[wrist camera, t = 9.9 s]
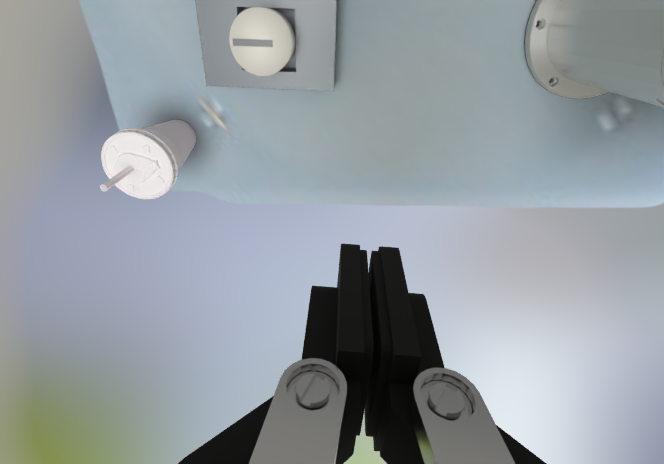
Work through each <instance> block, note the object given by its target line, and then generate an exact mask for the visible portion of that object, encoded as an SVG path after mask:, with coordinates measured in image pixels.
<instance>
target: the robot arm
mask: <svg viewBox="0 0 664 464" xmlns="http://www.w3.org/2000/svg"><path fill="white" fill-rule="evenodd" d="M537 21H539V25H538V26H537V27H536V23H537ZM525 54H526V59H527V63H528V67H529V69H530V71H531V73H532V75H533V77H534V78H535V79H536V80H537V82H538V83H539V84H540V85H541V86H542V87H544V88H545V89H547V90H548V91H550V92H552V93H554V94H556V95H559V96H563V97H567V98H573V99H585V98H591V97H596V96H599V95H603V94H606V93H609V92H612V93H616V94H619V95H622V96H626V97H629V98H633V99H636V100H639V101H643V102H646V103H650V104H653V105H657V106H660V107H663V108H664V0H537V2H536V4H535V6H534V8H533V10H532V12H531V15H530V19H529V22H528V25H527V30H526V37H525ZM551 78H552V80H551V82H550V83H549V81H550V79H551ZM364 408H365V432H366V436H371V437H372V436H373V440H374V451H380V456H381V457H382V458H383V460H384V461H386V463H387V464H546V463H545V462H543V461H542V460H541V459H540V458H538V457H537V456H536V455H534V454H533V453H532V452H530V451H529V450H528V449H527V448H525V447H524V446H523V445H521V444H520V443H519V442H517V441H516V440H515V439H513V438H512V437H511V436H510V435H508V434H507V433H505V432H504V431H503V430H502V429H501V428H499V427H498V426H497V425H496V424H495V422H494V421H493V419H492V417H491V415H490V413H489V411H488V409H487V407H486V405H485V403H484V401H483V399H482V397H481V395H480V393H479V392H478V390H477V389H476V387H475V386H474V385H473V384H472V383H471V382H470V381H469V380H468V379H467V378H466V377H464V376H462V375H461V374H459V373H457V372H455V371H452V370H449V369H446V368H444V365H443V361H442V357H441V353H440V350H439V346H438V343H437V338H436V335H435V331H434V327H433V323H432V320H431V316H430V312H429V309H428V305H427V301H426V298H425V296H424V295H423V294H415V293H408V289H407V284H406V280H405V275H404V270H403V266H402V261H401V256H400V251H399V248H392V247H379V250H378V251H372V254H371V259H370V267H369V273H368V262H367V251H366V250H360V245H352V244H341V251H340V262H339V273H338V284H337V288H334V287H322V286H312V289H311V296H310V303H309V311H308V318H307V325H306V333H305V340H304V347H303V354H302V360H300V361H298V362H295V363H293V364H292V365H291V366H290V367H288V368H287V369H286V370H285V371H284V373H283V375H282V377H281V378H280V381H279V384H278V386H277V389H276V392H275V394H274V396H273V397H272V398H270V399H269V400H267V401H266V402H264V403H263V404H261V405H260V406H259V407H257V408H256V409H254V410H253V411H251V412H250V413H249V414H247V415H246V416H244V417H243V418H241V419H240V420H238V421H237V422H236V423H234V424H233V425H231V426H230V427H229V428H227V429H225V430H224V431H223V432H221V433H220V434H218V435H217V436H215V437H214V438H212V439H211V440H210V441H208V442H207V443H205V444H204V445H203V446H201V447H199V448H198V449H197V450H195V451H194V452H192V453H191V454H189V455H188V456H187V457H185V458H184V459H183V460H182V461H180V462H179V463H178V464H343V463H344V462H345V461H346V460H348V459H349V457H351V456H352V454H353V451H354V445H355V439H356V435H360V431H361V425H362V420H363V414H364Z"/></svg>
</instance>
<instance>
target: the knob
mask: <svg viewBox="0 0 664 464" xmlns="http://www.w3.org/2000/svg"><path fill="white" fill-rule="evenodd" d="M229 41H230V47H231V51H232V53H233V56H234V58H235V59H236V61H237V62H238V64H239V65H240V66H241V67H242V68H243V69H245V70H246V71H247V72H249V73H251V74H254V75H257V76H269V75H272V74H275V73H277V72H278V71H280V70H281V69H282V68H283V67H284V66H285V65H287V64H288V62H289V61H290V60H291V58H292V56H293V53H294V50H295V35H294V31H293V28H292V26H291V24H290V23H289V21H288V20H287V19H286V17H285V16H284V15H282V14H281V13H280V12H278V11H276V10H274V9H271V8H263V7H252V8H249V9H246V10H244V11H242V12H241V13H240V14H239V15H238V16H237V17H236V18H235V20H234V22H233V24H232V26H231V29H230V36H229Z"/></svg>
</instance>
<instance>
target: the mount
mask: <svg viewBox="0 0 664 464" xmlns="http://www.w3.org/2000/svg"><path fill="white" fill-rule="evenodd" d="M195 3H196V10H197V18H198V25H199V33H200V41H201V48H202V56H203V63H204V71H205V78H206V86H221V87H247V88H273V89H299V90H326V91H334V85H335V57H336V26H337V0H195ZM252 7H263V8H271V9H274V10H276V11H278V12H280V13H281V14H282V15H284V16H285V17H286V19H287V20H288V21H289V23H290V24H291V26H292V28H293V31H294V35H295V50H294V53H293V56H292V58H291V60H290V61H289V62H288V64H287V65H285V66H284V67H283V68H282V69H281V70H280V71H278V72H277V73H275V74H272V75H269V76H257V75H254V74H251V73H249V72H247V71H246V70H245V69H243V68H242V67H241V66H240V65H239V64H238V62H237V61H236V59H235V58H234V56H233V53H232V51H231V47H230V41H229V36H230V29H231V26H232V24H233V22H234V20H235V18H236V17H237V16H238V15H239V14H240V13H241V12H242V11H244V10H246V9H249V8H252Z"/></svg>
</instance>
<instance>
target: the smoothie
mask: <svg viewBox="0 0 664 464" xmlns="http://www.w3.org/2000/svg"><path fill="white" fill-rule="evenodd" d="M195 144H196V135H195V132H194V130H193V129H192V127H191V126H190V125H189V124H187V123H186V122H184V121H182V120H170V121H167V122H163V123H159V124H156V125H152V126H149V127H145V128H141V129H124V130H121V131H118V132H117V133H116V134H114V135H113V136H111V137H110V138H109V139H108V140H107V141H106V142H105V144H104V146H103V148H102V152H101V160H102V165H103V168H104V171H105V173H106V174H107V176H108V178H109V180H108V181H106V182H105V183H104V184H102V185H101V186H100V188H101V190H103V191H107V190H108V189H110V188H111V187H112V186H114V185H115V186H116V187H118V188H119V189H120V190H122V191H123V192H125V193H127V194H128V195H130V196H133V197H136V198H140V199H153V198H157V197H160V196H161V195H163V194H165V193H166V192H167V191H169V190H170V189H171V188H172V187H173V185H174V184H175V182H176V179H177V175H178V171H179V170H180V168H181V166H182V165H183V163H184V162H185V160H186V159H187V157H188V156H189V154H190V153H191V151H192V149H193V148H194V146H195Z"/></svg>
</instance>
